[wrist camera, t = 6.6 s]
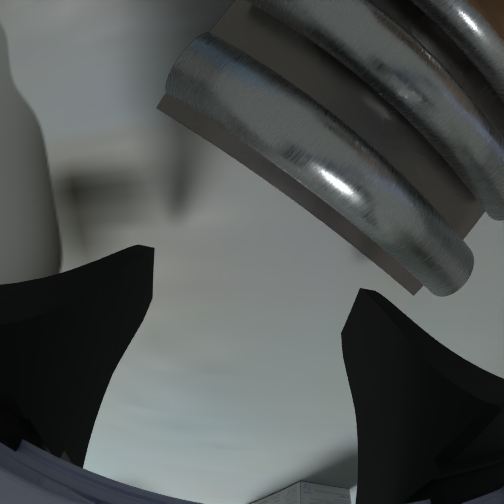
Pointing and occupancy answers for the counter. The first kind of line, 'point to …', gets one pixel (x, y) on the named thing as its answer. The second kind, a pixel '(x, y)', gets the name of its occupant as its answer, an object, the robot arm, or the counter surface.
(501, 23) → the slab
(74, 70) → the counter surface
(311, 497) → the light bulb box
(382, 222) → the roller track
